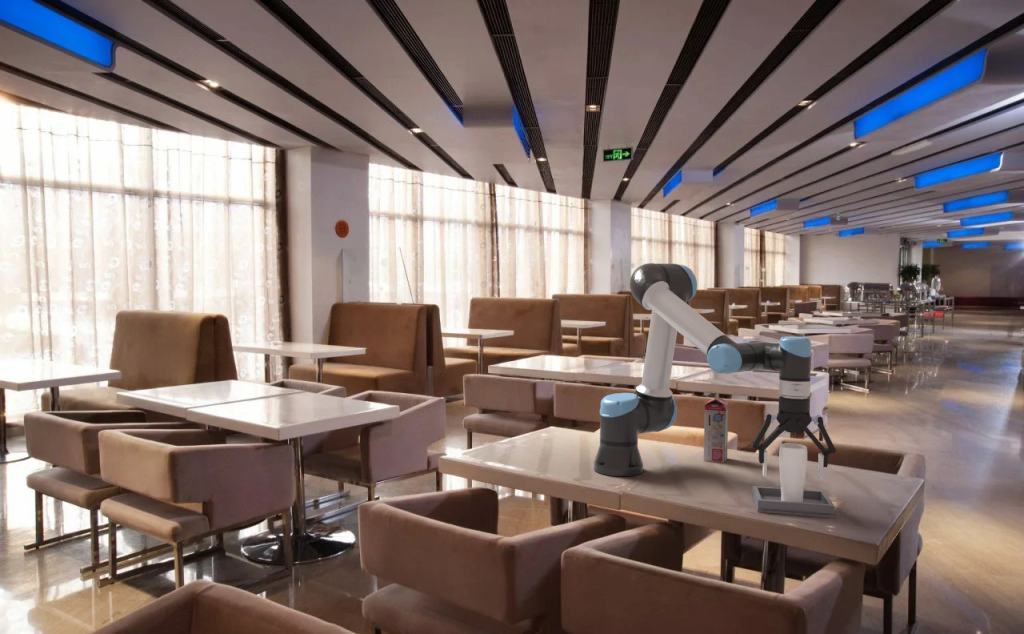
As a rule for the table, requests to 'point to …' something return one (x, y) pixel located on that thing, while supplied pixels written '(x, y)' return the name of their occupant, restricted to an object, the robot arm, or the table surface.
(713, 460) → the juice carton
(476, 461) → the table surface
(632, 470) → the robot arm
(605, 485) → the table surface
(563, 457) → the table surface
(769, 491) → the tray
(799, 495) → the drinking glass
